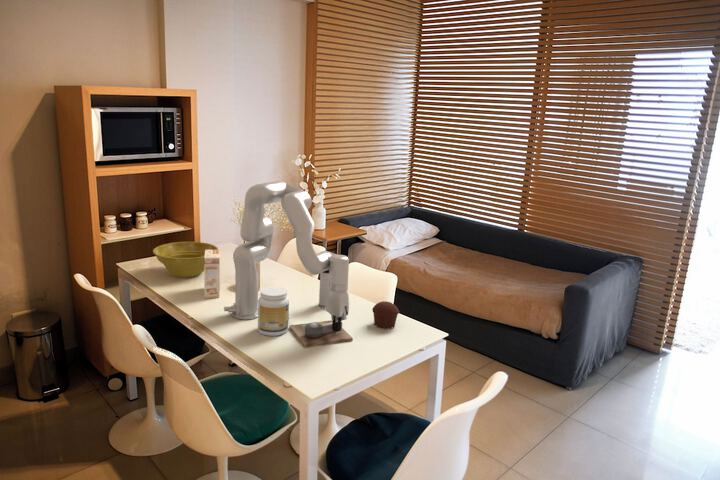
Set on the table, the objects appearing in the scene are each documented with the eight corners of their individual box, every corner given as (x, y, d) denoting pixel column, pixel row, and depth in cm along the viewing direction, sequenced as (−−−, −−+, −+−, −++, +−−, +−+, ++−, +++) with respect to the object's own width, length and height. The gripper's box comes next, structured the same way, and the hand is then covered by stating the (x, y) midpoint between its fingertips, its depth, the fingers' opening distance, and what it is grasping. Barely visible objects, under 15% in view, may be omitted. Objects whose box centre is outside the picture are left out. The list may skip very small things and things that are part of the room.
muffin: (365, 324, 226) (367, 302, 223) (381, 317, 234) (383, 296, 232) (387, 332, 218) (389, 310, 216) (403, 325, 227) (405, 303, 224)
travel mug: (331, 309, 240) (333, 267, 235) (317, 307, 241) (319, 265, 237) (334, 304, 246) (336, 263, 241) (320, 302, 247) (322, 261, 243)
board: (304, 347, 200) (304, 344, 200) (289, 328, 216) (289, 325, 216) (352, 340, 208) (352, 337, 208) (334, 322, 225) (334, 319, 225)
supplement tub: (292, 334, 211) (294, 294, 207) (263, 339, 205) (264, 298, 201) (281, 323, 221) (282, 284, 217) (253, 327, 215) (254, 288, 211)
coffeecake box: (219, 298, 245) (219, 257, 240) (203, 298, 243) (203, 257, 239) (220, 287, 259) (220, 249, 254) (205, 287, 257) (204, 249, 253)
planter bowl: (181, 288, 254) (180, 261, 251) (140, 274, 271) (139, 248, 268) (231, 273, 281) (231, 249, 278) (190, 261, 298) (190, 238, 294)
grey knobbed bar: (311, 340, 203) (311, 329, 202) (301, 333, 208) (301, 323, 207) (345, 331, 213) (346, 321, 212) (335, 325, 218) (336, 315, 217)
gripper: (319, 282, 210) (318, 325, 214) (342, 293, 199) (340, 338, 203) (334, 279, 214) (332, 322, 219) (357, 290, 203) (355, 334, 207)
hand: (336, 329), depth 211 cm, fingers closed
